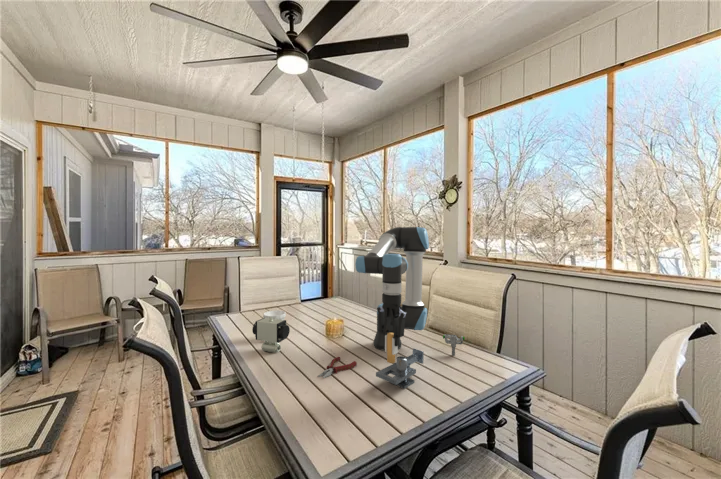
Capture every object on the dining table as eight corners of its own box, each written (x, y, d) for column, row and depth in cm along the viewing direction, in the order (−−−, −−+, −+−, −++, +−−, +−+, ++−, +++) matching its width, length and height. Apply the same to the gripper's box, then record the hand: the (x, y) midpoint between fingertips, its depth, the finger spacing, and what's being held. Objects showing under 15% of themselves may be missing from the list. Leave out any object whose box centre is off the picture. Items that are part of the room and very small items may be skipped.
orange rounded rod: (385, 361, 123) (385, 333, 122) (390, 359, 125) (390, 332, 125) (391, 363, 120) (392, 335, 120) (396, 361, 123) (397, 333, 123)
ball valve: (291, 350, 162) (291, 316, 161) (282, 356, 154) (282, 321, 153) (262, 346, 168) (262, 313, 167) (252, 351, 160) (251, 317, 159)
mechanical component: (464, 357, 154) (464, 337, 154) (443, 355, 156) (443, 335, 156) (463, 355, 157) (463, 335, 157) (442, 353, 159) (442, 333, 159)
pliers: (310, 376, 134) (310, 370, 134) (338, 360, 151) (338, 355, 151) (331, 383, 128) (331, 377, 128) (357, 366, 145) (357, 360, 145)
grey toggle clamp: (375, 387, 124) (375, 362, 124) (409, 369, 141) (409, 347, 140) (395, 396, 117) (396, 370, 117) (428, 376, 134) (428, 353, 134)
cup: (258, 341, 174) (258, 314, 174) (272, 334, 186) (272, 309, 185) (276, 344, 170) (276, 317, 169) (290, 337, 181) (290, 311, 181)
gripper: (370, 291, 125) (369, 349, 125) (402, 297, 114) (402, 361, 114) (382, 289, 130) (381, 344, 131) (414, 294, 119) (413, 355, 120)
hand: (391, 352), depth 123 cm, fingers closed on orange rounded rod, 3 cm apart
